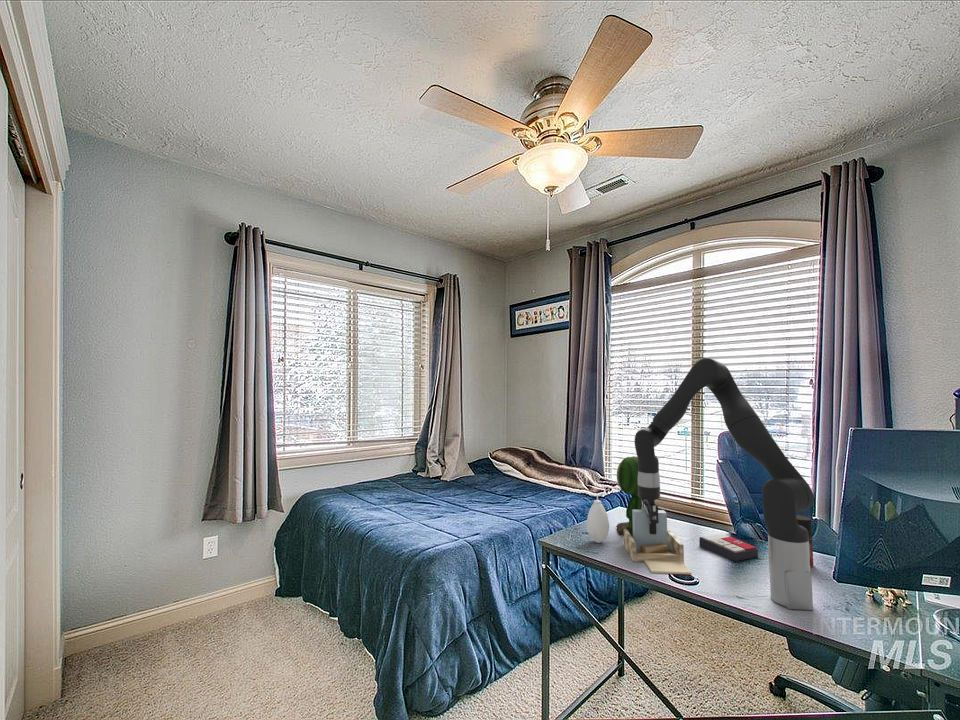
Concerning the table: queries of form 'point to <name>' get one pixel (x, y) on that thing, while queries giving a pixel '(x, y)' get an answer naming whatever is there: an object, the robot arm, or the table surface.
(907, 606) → the table surface
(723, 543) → the dark flat box
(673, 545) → the rack
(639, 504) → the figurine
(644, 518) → the grey rectangular block
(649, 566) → the cork mat
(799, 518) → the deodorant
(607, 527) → the white rounded upright piece
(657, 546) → the offcut slab upper
